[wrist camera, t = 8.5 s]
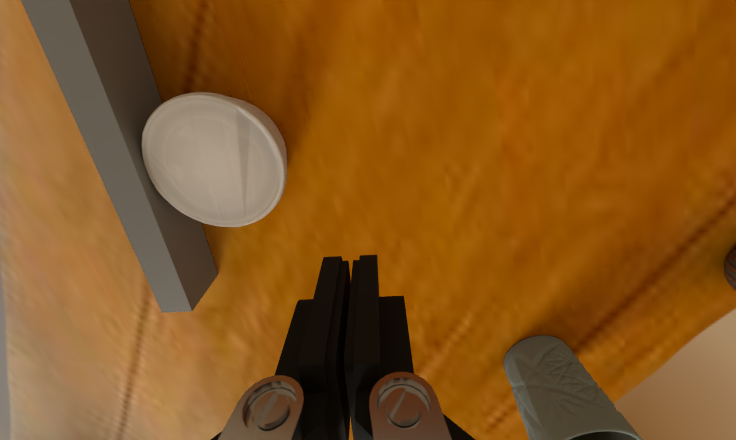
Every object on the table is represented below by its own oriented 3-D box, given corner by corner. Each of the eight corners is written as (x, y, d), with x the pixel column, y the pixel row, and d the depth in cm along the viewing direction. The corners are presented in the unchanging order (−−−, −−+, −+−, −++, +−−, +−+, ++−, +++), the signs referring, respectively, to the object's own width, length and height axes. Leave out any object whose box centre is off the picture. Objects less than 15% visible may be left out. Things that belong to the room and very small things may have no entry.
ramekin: (318, 178, 32) (309, 198, 27) (225, 220, 34) (201, 247, 29) (254, 63, 27) (229, 63, 22) (151, 121, 29) (109, 132, 24)
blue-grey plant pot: (570, 322, 40) (645, 420, 29) (579, 374, 44) (648, 476, 33) (489, 344, 41) (531, 444, 31) (505, 392, 45) (547, 494, 35)
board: (80, -27, 24) (-3, -52, 19) (118, -30, 24) (46, -56, 19) (192, 275, 37) (161, 312, 31) (218, 274, 37) (192, 311, 31)
